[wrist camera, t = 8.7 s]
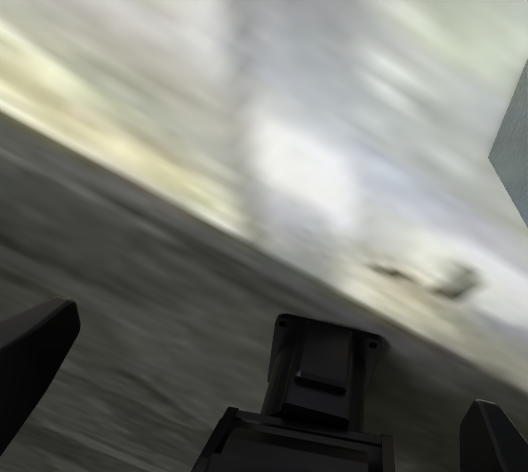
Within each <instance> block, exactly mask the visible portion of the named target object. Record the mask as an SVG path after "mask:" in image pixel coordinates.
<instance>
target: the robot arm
mask: <svg viewBox="0 0 528 472" xmlns="http://www.w3.org/2000/svg"><path fill="white" fill-rule="evenodd" d="M282 321H284V322H286V323H283V322H282ZM80 325H81V324H80V319H79V314H78V310H77V305H76V302H75V301H74V300H73V299H70V298H66V297H62V296H56V297H53V298H51V299H49V300H47V301H44V302H42V303H40V304H38V305H36V306H33V307H31V308H29V309H27V310H25V311H22V312H20V313H18V314H16V315H14V316H11V317H9V318H7V319H5V320H3V321H0V456H1V455H2V454H3V452H4V451H5V449H6V448H7V446H8V445H9V444H10V442H11V441H12V439H13V438H14V436H15V435H16V434H17V432H18V431H19V429H20V428H21V426H22V425H23V424H24V422H25V421H26V419H27V418H28V417H29V415H30V414H31V412H32V411H33V409H34V408H35V407H36V405H37V404H38V402H39V401H40V399H41V398H42V396H43V395H44V393H45V392H46V390H47V389H48V387H49V385H50V384H51V382H52V380H53V379H54V377H55V375H56V373H57V371H58V370H59V368H60V366H61V364H62V363H63V361H64V359H65V357H66V355H67V354H68V352H69V350H70V348H71V347H72V345H73V343H74V341H75V339H76V338H77V336H78V334H79V331H80ZM371 342H374V343H375V344H372V343H371ZM381 346H382V340H381V338H380V337H379V336H377V335H374V334H369V333H365V332H361V331H356V330H352V329H348V328H344V327H339V326H335V325H331V324H326V323H322V322H318V321H313V320H309V319H305V318H300V317H296V316H292V315H288V314H280V315H278V316H277V319H276V322H275V329H274V336H273V343H272V351H271V358H270V365H269V373H268V383H269V385H268V389H267V392H266V396H265V399H264V403H263V406H262V410H261V413H260V414H258V413H252V412H247V411H241V410H239V409H238V408H234V407H228V408H227V410H226V412H225V414H224V415H223V417H222V418H221V419H220V420H219V422H218V424H217V426H216V427H215V429H214V431H213V433H212V435H211V436H210V438H209V440H208V442H207V444H206V445H205V447H204V449H203V451H202V453H201V454H200V456H199V458H198V460H197V462H196V463H195V465H194V467H193V469H192V471H191V472H395V464H394V452H393V439H392V436H389V435H383V434H381V436H379V435H373V434H368V433H363V419H364V398H365V394H366V391H367V388H368V385H369V382H370V379H371V376H372V373H373V371H374V368H375V365H376V362H377V359H378V356H379V353H380V350H381ZM460 469H461V472H528V442H527V441H526V440H525V438H524V437H523V436H522V434H521V433H520V432H519V431H518V429H517V428H516V427H515V425H514V424H513V423H512V421H511V420H510V419H509V417H508V416H507V415H506V413H505V412H504V411H503V409H502V408H501V407H500V406H499V405H498V404H496V403H493V402H489V401H485V400H481V399H477V400H475V401H474V402H473V403H472V405H471V407H470V408H469V410H468V412H467V414H466V415H465V417H464V419H463V420H462V423H461V426H460Z"/></svg>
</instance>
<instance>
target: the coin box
mask: <svg viewBox="0 0 528 472" xmlns="http://www.w3.org/2000/svg"><path fill="white" fill-rule="evenodd" d="M488 158H489V160H490V162H491V164H492V165H493V167H494V169H495V171H496V172H497V174H498V176H499V178H500V180H501V181H502V183H503V185H504V187H505V188H506V190H507V192H508V194H509V196H510V197H511V199H512V201H513V203H514V204H515V206H516V208H517V210H518V211H519V213H520V215H521V217H522V219H523V220H524V222H525V224H526V226H527V227H528V59H527V62H526V64H525V67H524V69H523V72H522V74H521V77H520V79H519V82H518V84H517V87H516V89H515V92H514V94H513V97H512V99H511V102H510V104H509V107H508V109H507V112H506V114H505V117H504V119H503V122H502V124H501V127H500V129H499V132H498V134H497V137H496V139H495V142H494V144H493V147H492V149H491V152H490V154H489V157H488Z"/></svg>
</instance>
